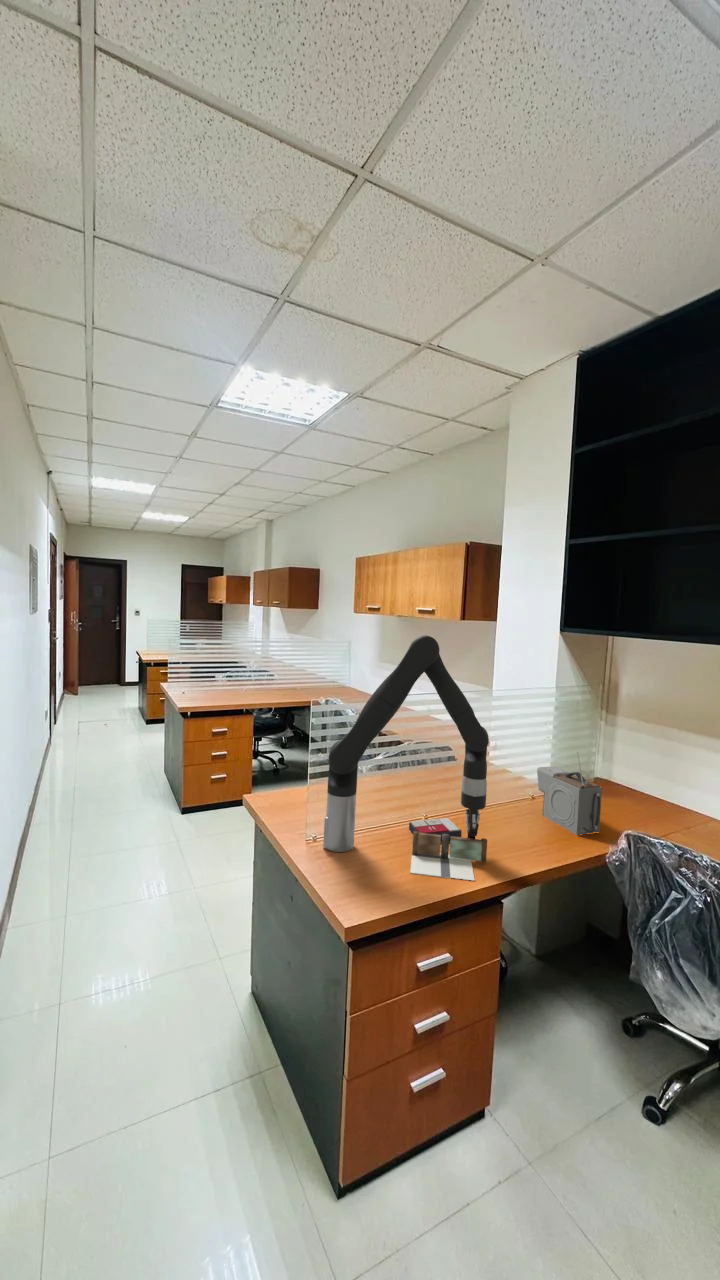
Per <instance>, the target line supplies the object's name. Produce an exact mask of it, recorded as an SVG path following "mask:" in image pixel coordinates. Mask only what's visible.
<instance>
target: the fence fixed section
mask: <svg viewBox="0 0 720 1280" xmlns="http://www.w3.org/2000/svg"><path fill="white" fill-rule="evenodd" d="M411 850H412V852H411V855H412V854H413V855H418V854H426V855H435V856H440V854H441V858H443V859H448V855H449V854H450V841H449V834H442V842H441V835H436V834H426V833H419V832H417V831H414V832H413V834H412V849H411Z"/></svg>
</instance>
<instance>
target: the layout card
mask: <svg viewBox="0 0 720 1280" xmlns="http://www.w3.org/2000/svg"><path fill="white" fill-rule="evenodd" d="M410 859H411V861H410V872H409V873H410V874H412V875H420V876H426V877H427V876H428V877H436V878H437V877H438V878H443V877H444V879H451V878H455V879H454V880H459V879H463V880H462V881H468V880H471V881H470V882H476V881H475V875H474V869H473V863H472V860H467V859H459V858H452V857H450V854H448V859H443V858H441V853H440V856H435V855H426V854H418V855H413V854H412V853H411V858H410Z"/></svg>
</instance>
